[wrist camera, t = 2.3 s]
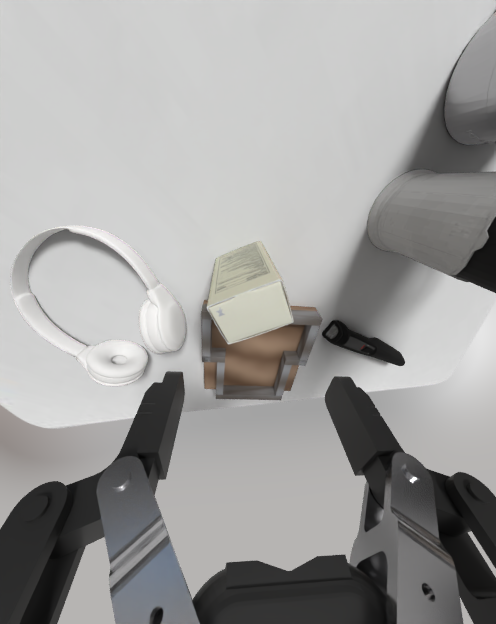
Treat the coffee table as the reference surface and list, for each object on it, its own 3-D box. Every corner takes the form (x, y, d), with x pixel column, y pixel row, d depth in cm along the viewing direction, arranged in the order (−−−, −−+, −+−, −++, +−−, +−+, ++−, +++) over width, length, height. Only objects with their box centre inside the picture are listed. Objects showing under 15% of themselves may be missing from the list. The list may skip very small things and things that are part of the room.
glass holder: (381, 169, 22) (587, 153, 9) (509, 168, 22) (873, 151, 9) (358, 252, 26) (470, 317, 14) (463, 249, 27) (665, 310, 14)
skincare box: (228, 286, 28) (224, 347, 18) (214, 257, 26) (201, 308, 15) (273, 269, 27) (296, 324, 17) (263, 238, 25) (282, 279, 14)
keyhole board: (204, 300, 29) (201, 311, 26) (315, 307, 31) (322, 318, 28) (205, 384, 39) (203, 398, 36) (289, 386, 40) (292, 400, 38)
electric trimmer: (384, 359, 38) (395, 373, 36) (319, 334, 34) (326, 347, 31) (400, 346, 37) (413, 359, 34) (334, 316, 32) (343, 329, 29)
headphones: (199, 343, 24) (34, 186, 17) (108, 408, 29) (-41, 306, 23) (212, 315, 30) (95, 193, 24) (135, 372, 36) (25, 286, 29)
